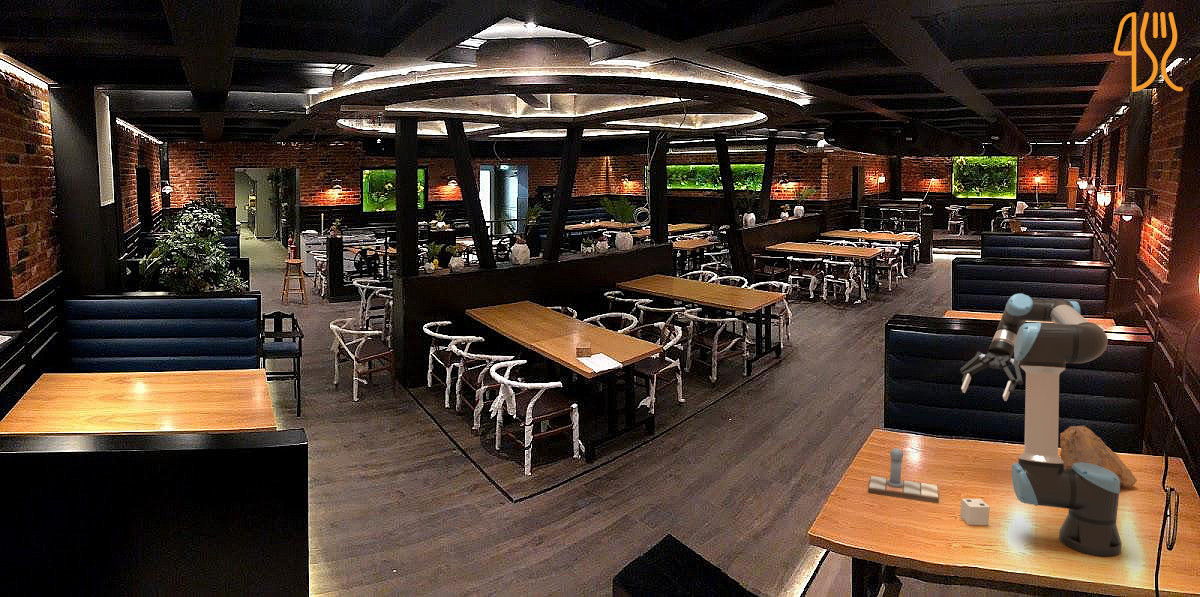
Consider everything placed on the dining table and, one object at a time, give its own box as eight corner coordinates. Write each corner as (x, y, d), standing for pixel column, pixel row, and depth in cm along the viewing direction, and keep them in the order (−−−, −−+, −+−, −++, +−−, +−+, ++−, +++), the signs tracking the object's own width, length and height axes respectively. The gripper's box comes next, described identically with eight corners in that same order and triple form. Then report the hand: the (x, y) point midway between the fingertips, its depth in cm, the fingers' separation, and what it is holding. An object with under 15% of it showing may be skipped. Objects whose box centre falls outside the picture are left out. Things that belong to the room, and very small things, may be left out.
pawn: (902, 488, 250) (904, 452, 247) (887, 486, 251) (889, 450, 249) (902, 483, 254) (904, 447, 252) (887, 481, 256) (889, 445, 254)
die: (988, 525, 226) (989, 506, 225) (968, 525, 226) (969, 506, 225) (979, 516, 232) (980, 498, 231) (960, 516, 232) (961, 498, 231)
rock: (1037, 443, 276) (1062, 412, 270) (1074, 456, 280) (1099, 426, 274) (1090, 496, 250) (1118, 463, 244) (1130, 509, 254) (1158, 477, 248)
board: (938, 502, 242) (938, 498, 242) (868, 492, 251) (868, 488, 251) (937, 489, 253) (937, 484, 253) (870, 479, 262) (870, 475, 261)
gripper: (1044, 357, 252) (1025, 408, 245) (969, 346, 271) (949, 393, 263) (1039, 344, 248) (1020, 396, 240) (964, 334, 266) (944, 381, 259)
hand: (983, 394), depth 252 cm, fingers open, 13 cm apart
